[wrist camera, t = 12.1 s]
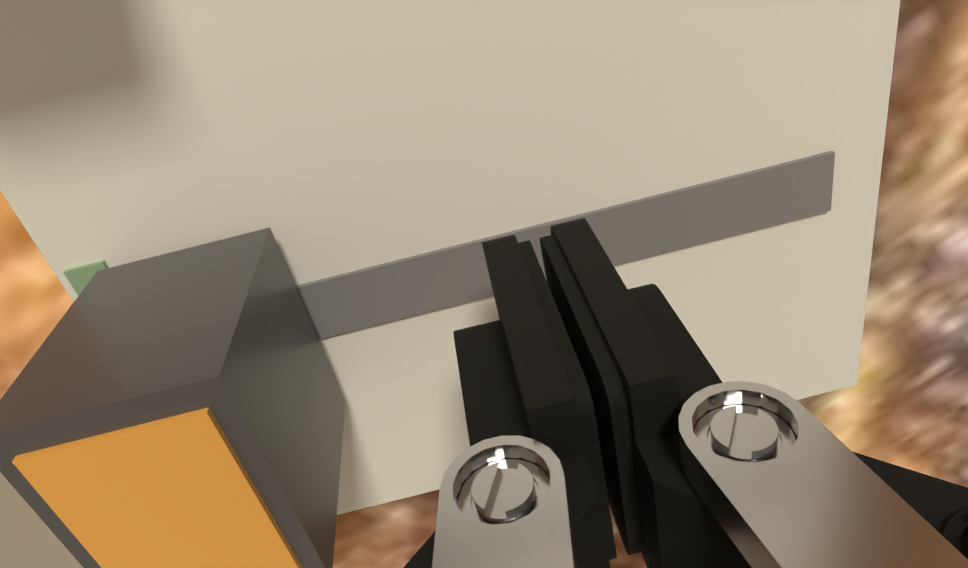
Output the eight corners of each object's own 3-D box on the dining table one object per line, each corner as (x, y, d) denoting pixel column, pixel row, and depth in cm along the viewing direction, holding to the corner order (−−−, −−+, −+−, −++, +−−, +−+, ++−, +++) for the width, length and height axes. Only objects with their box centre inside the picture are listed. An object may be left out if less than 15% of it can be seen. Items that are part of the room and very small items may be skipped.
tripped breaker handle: (270, 227, 11) (217, 381, 8) (345, 401, 13) (331, 585, 10) (97, 270, 11) (-34, 444, 8) (200, 437, 13) (133, 634, 10)
